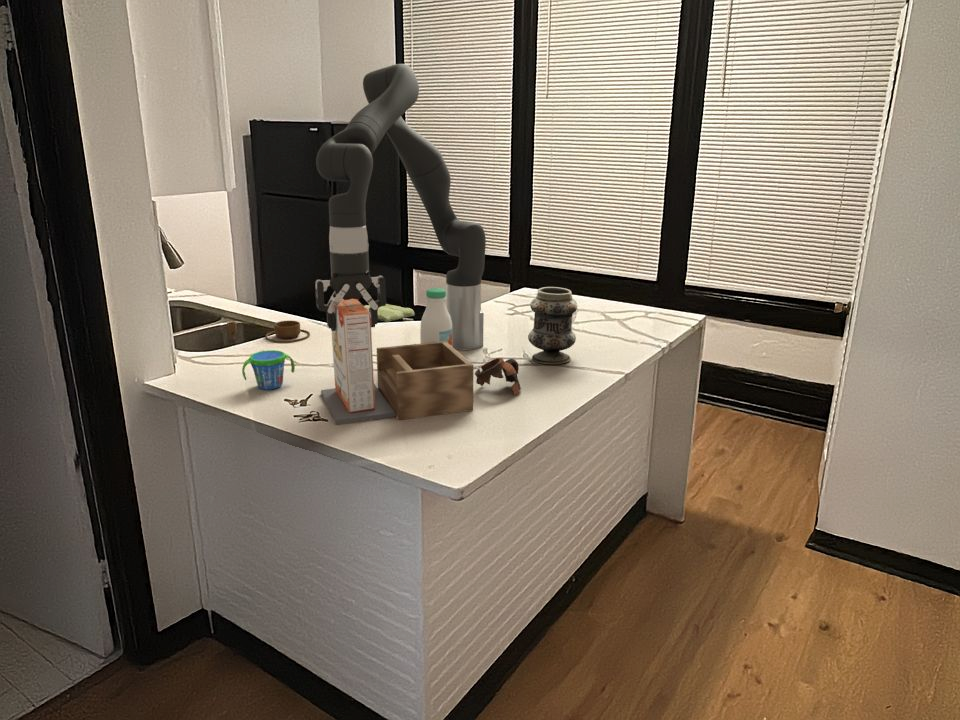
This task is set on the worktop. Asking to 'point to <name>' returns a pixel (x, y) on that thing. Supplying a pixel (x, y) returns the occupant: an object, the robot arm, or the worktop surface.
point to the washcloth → (392, 312)
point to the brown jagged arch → (499, 372)
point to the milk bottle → (436, 318)
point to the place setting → (277, 331)
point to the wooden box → (426, 380)
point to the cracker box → (353, 356)
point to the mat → (343, 416)
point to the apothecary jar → (552, 324)
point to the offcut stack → (397, 367)
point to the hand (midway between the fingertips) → (352, 328)
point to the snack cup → (268, 368)
